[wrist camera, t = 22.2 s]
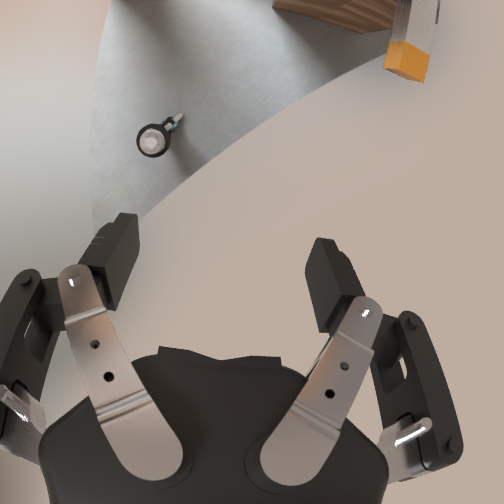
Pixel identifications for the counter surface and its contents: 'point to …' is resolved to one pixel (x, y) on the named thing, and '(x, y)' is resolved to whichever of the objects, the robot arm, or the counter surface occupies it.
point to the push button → (156, 137)
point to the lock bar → (411, 38)
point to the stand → (348, 12)
